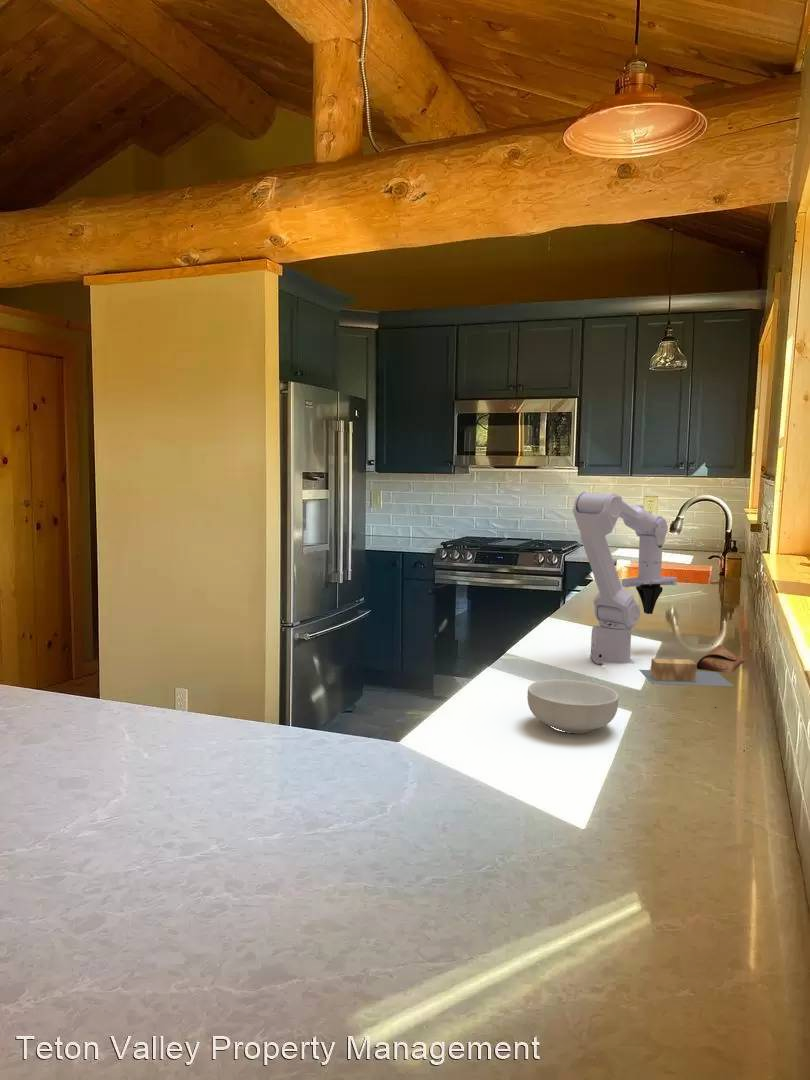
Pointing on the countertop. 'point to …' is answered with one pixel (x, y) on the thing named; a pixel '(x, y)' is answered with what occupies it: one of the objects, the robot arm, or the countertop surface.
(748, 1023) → the countertop surface
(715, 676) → the slate mat
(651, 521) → the robot arm
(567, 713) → the cereal bowl
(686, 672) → the oak block
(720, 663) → the sunglasses case
